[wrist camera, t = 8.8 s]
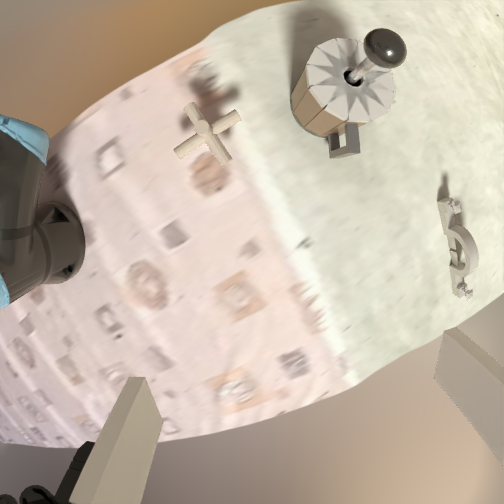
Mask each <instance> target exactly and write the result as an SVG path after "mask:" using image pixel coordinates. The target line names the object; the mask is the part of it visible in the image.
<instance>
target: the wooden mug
mask: <svg viewBox="0 0 504 504" xmlns="http://www.w3.org/2000/svg"><path fill="white" fill-rule="evenodd" d="M366 57H367V56H366V54H365V51H364V47H363V43H362V42H360V41H358V43H357V40H351V39H342V38H336V39H334V38H333V39H331V40H329V41H326V42H324V43H322V44H320V45H318V46H317V47H315V49H314V51H313V53H312V55H311V56H310V58H309V60H308V62H307V64H306V67H305V69H304V71H303V73H302V75H301V77H300V79H299V81H298V83H297V84H296V86H295V88H294V90H293V92H292V95H291V101H290V102H291V110H292V113H293V116H294V118H295V119H296V121H297V122H298V124H299V125H300V126H301V127H302V128H303V129H305V130H306V131H307V132H309V133H311V134H313V135H315V136H318V137H323V138H328V142H329V154H330V158H342V157H346V156H350V155H354V154H358V153H360V142H359V132H358V127H359V126H361V125H363V124H365V123H368V122H371V121H373V120H374V119H376V118H378V117H379V116H381V115H383V114H385V113H386V112H388V110H389V109H390V107H391V104H392V102H393V99H394V97H395V93H394V92H396V89H395V83H394V78H393V73H391V72H390V71H392V70H391V69H387V68H382V67H379V66H377V65H375V66H374V67H373V68H372V69H371V70H369V71H368V72H367V73H366V74H365V75H364V76H362V77H361V78H360V79H359V80H358V81H357V82H356V83H354V84H353V85H352V86H351V85H349V84H347V82H346V81H345V80H344V79H345V78H346V77H347V76H348V75H349V74H350V73H351V72H352V71H353V70H354V69H355V68H356V67H357V66H358V65H359V64H360V63H361V62H362V61H363V60H364V59H365V58H366ZM342 134H345V135H346V146H344V147H341V148H340V143H339V136H340V135H342Z"/></svg>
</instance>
